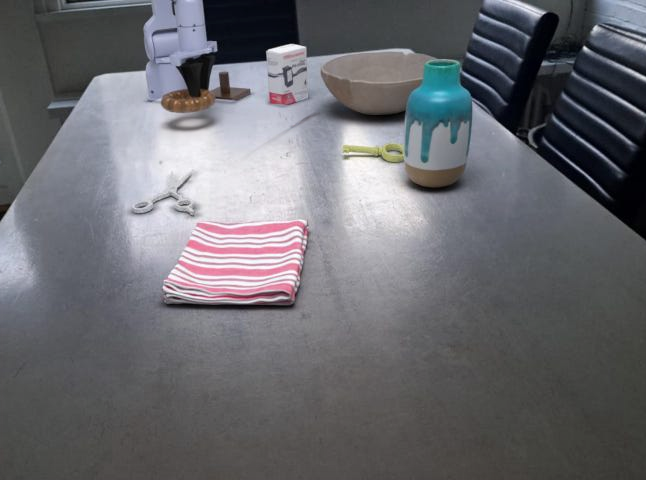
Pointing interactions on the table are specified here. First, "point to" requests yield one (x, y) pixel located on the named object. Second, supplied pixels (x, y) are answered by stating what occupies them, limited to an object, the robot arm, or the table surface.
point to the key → (378, 151)
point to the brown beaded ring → (187, 101)
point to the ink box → (287, 74)
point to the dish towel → (239, 264)
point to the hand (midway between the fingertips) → (199, 94)
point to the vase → (437, 126)
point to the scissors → (169, 191)
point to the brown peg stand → (228, 89)
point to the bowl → (375, 80)
